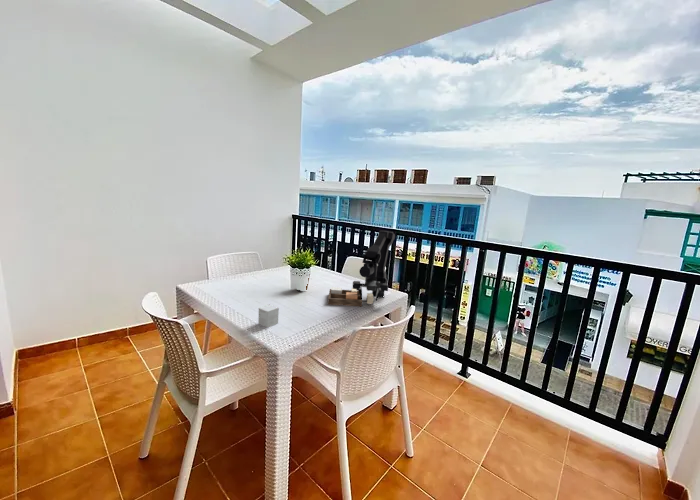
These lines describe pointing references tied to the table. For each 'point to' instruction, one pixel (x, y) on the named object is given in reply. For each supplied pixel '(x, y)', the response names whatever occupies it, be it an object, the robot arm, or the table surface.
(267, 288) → the table surface
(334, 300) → the lane rack
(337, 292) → the cream white block dumbbell
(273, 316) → the product box
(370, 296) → the cream orange dumbbell block
